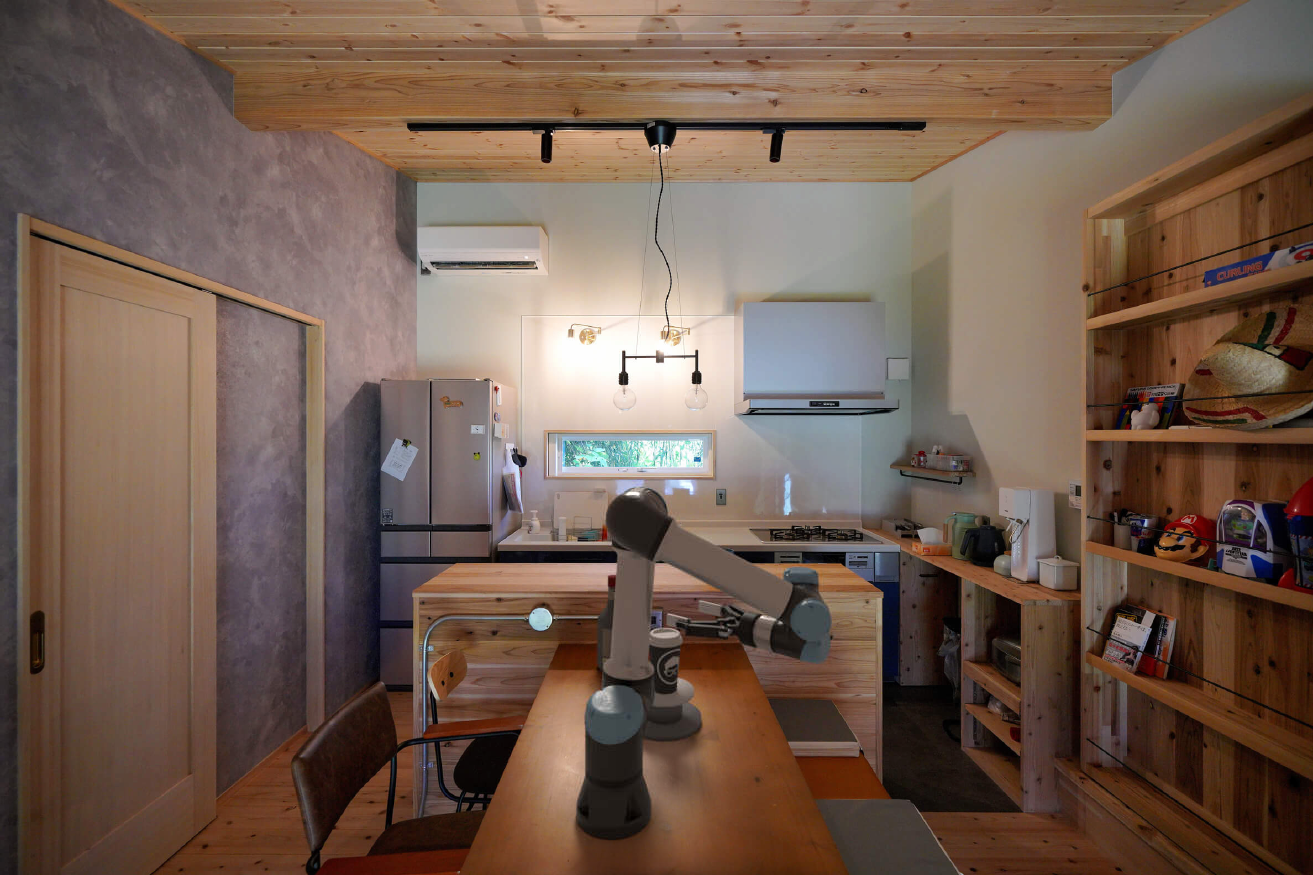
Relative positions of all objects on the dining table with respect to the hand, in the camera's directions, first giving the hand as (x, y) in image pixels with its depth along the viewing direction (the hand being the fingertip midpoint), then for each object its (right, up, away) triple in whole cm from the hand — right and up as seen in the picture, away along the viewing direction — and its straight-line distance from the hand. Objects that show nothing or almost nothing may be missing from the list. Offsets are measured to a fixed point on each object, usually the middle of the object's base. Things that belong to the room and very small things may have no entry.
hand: (684, 612), depth 142 cm
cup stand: (-5, -32, +9) cm, 34 cm away
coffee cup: (-5, -24, +9) cm, 26 cm away
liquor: (-21, -32, +43) cm, 58 cm away
